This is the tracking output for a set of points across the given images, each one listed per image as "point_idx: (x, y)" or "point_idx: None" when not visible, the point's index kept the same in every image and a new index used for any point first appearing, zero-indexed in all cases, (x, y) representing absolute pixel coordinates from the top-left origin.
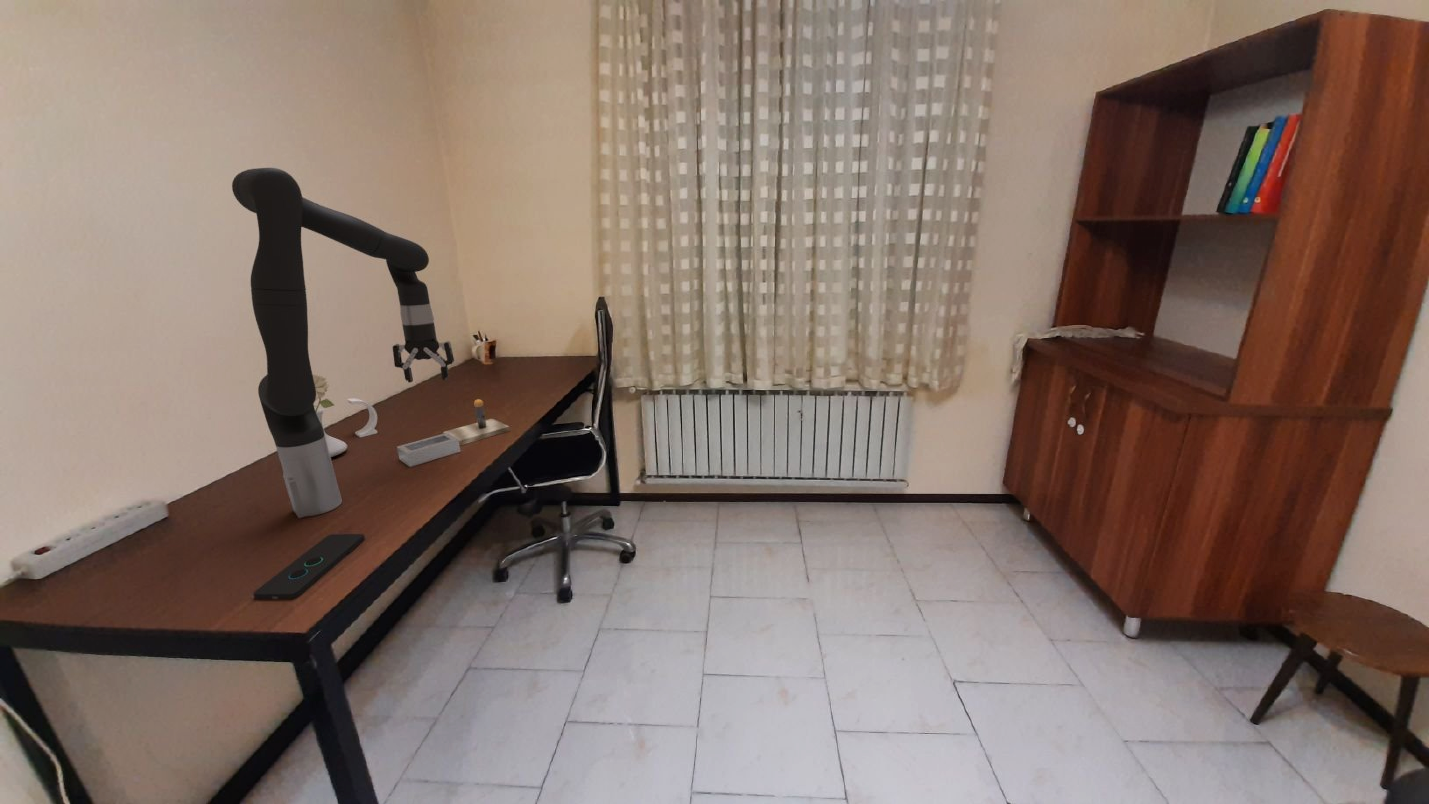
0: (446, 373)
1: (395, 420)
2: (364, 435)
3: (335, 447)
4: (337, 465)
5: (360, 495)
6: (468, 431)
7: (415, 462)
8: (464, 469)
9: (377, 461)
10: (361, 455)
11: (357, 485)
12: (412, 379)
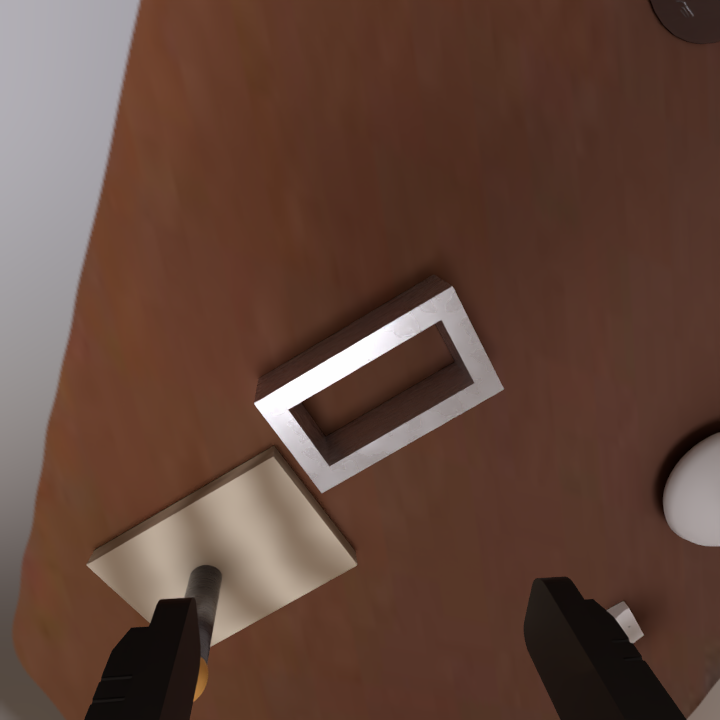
0: (109, 687)
1: (535, 713)
2: (614, 609)
3: (706, 473)
4: (675, 379)
5: (583, 22)
6: (256, 548)
7: (416, 289)
8: (194, 159)
9: (555, 375)
10: (609, 447)
11: (601, 147)
12: (531, 641)
